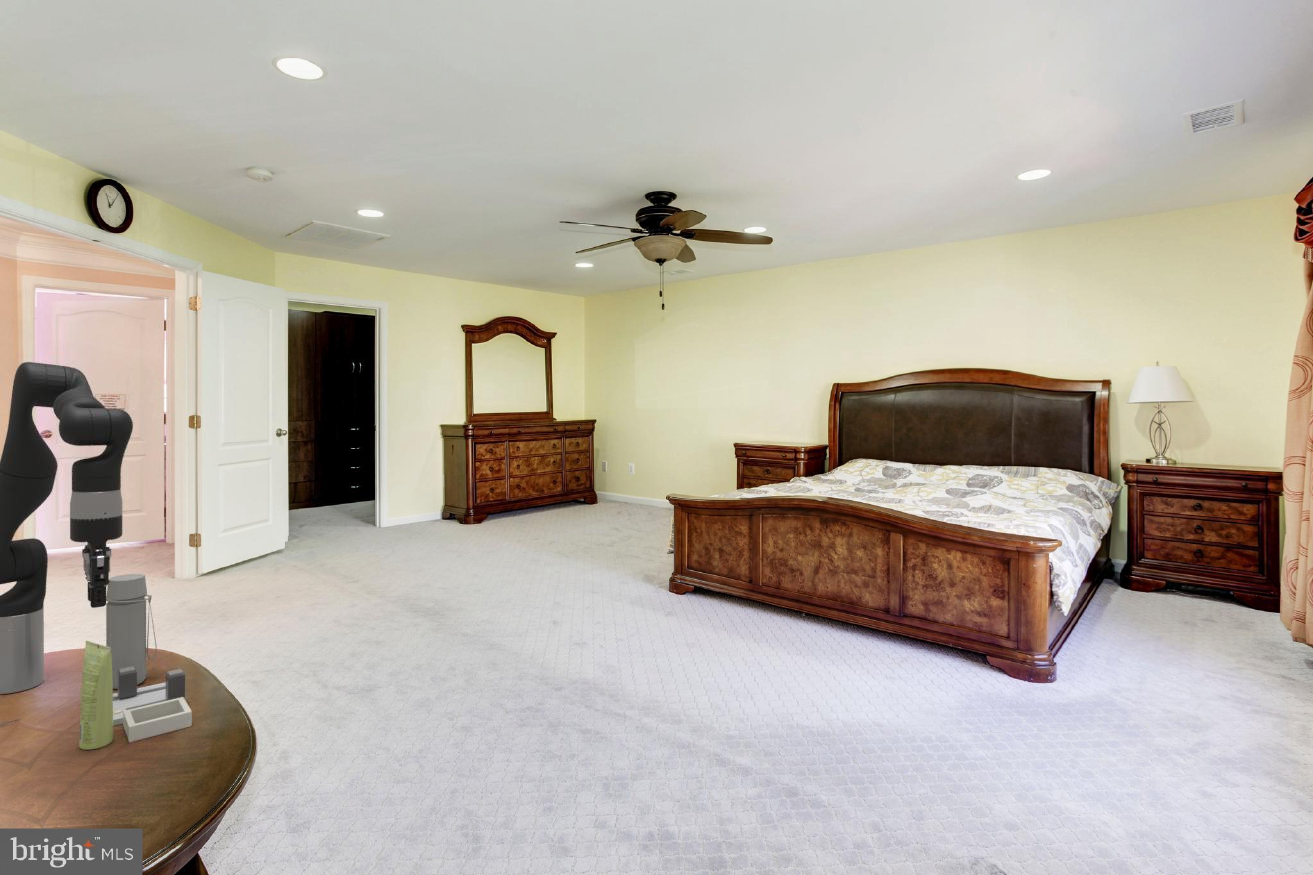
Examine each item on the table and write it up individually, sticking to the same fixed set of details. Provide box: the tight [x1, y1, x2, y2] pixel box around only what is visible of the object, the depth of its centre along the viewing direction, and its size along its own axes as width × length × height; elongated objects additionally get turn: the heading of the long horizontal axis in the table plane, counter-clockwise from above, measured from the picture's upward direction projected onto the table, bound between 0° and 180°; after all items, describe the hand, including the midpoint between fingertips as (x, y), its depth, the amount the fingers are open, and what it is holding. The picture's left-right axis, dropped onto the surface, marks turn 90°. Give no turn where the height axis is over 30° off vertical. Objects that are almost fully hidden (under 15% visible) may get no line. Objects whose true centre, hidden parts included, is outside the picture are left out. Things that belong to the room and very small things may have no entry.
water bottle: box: [105, 573, 158, 690], centre depth 151 cm, size 9×8×25 cm
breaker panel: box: [113, 681, 167, 727], centre depth 142 cm, size 15×12×2 cm
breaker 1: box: [116, 666, 138, 699], centre depth 143 cm, size 3×3×6 cm
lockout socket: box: [122, 697, 193, 743], centre depth 133 cm, size 9×10×3 cm
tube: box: [78, 640, 114, 751], centre depth 125 cm, size 6×5×20 cm
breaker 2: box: [165, 668, 186, 701], centre depth 142 cm, size 3×3×6 cm
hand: (96, 602), depth 124 cm, fingers open, 4 cm apart
